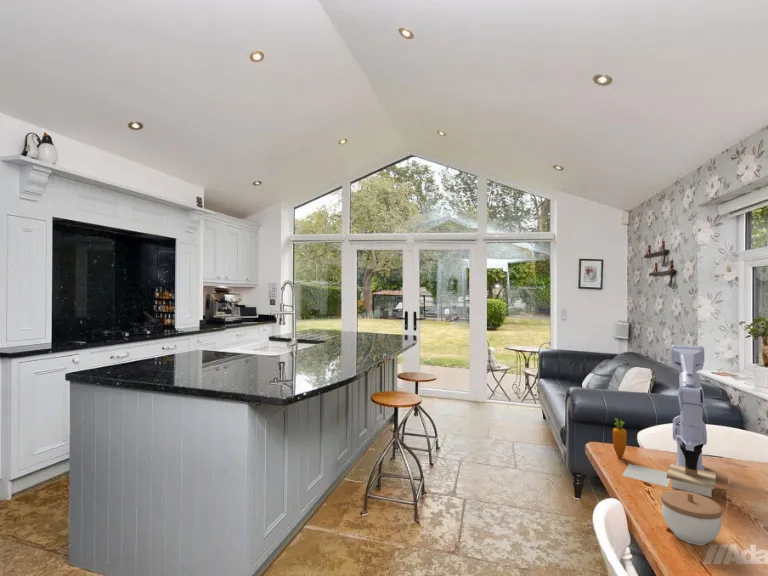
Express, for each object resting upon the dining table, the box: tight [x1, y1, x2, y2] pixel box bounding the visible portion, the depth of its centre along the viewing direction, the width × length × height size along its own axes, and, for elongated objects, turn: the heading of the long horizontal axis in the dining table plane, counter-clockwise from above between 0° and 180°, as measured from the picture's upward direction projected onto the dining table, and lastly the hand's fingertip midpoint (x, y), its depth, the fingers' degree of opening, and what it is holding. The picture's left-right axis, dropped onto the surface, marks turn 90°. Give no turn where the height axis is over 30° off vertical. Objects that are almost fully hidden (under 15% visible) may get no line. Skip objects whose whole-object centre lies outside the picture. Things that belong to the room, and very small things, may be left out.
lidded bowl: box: [660, 489, 723, 546], centre depth 105 cm, size 13×13×11 cm
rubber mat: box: [621, 463, 672, 488], centre depth 141 cm, size 13×13×1 cm
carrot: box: [612, 417, 628, 459], centre depth 157 cm, size 5×5×15 cm
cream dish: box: [671, 479, 714, 498], centre depth 132 cm, size 10×10×4 cm
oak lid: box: [667, 461, 717, 490], centre depth 133 cm, size 12×12×5 cm
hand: (692, 467), depth 132 cm, fingers open, 3 cm apart
